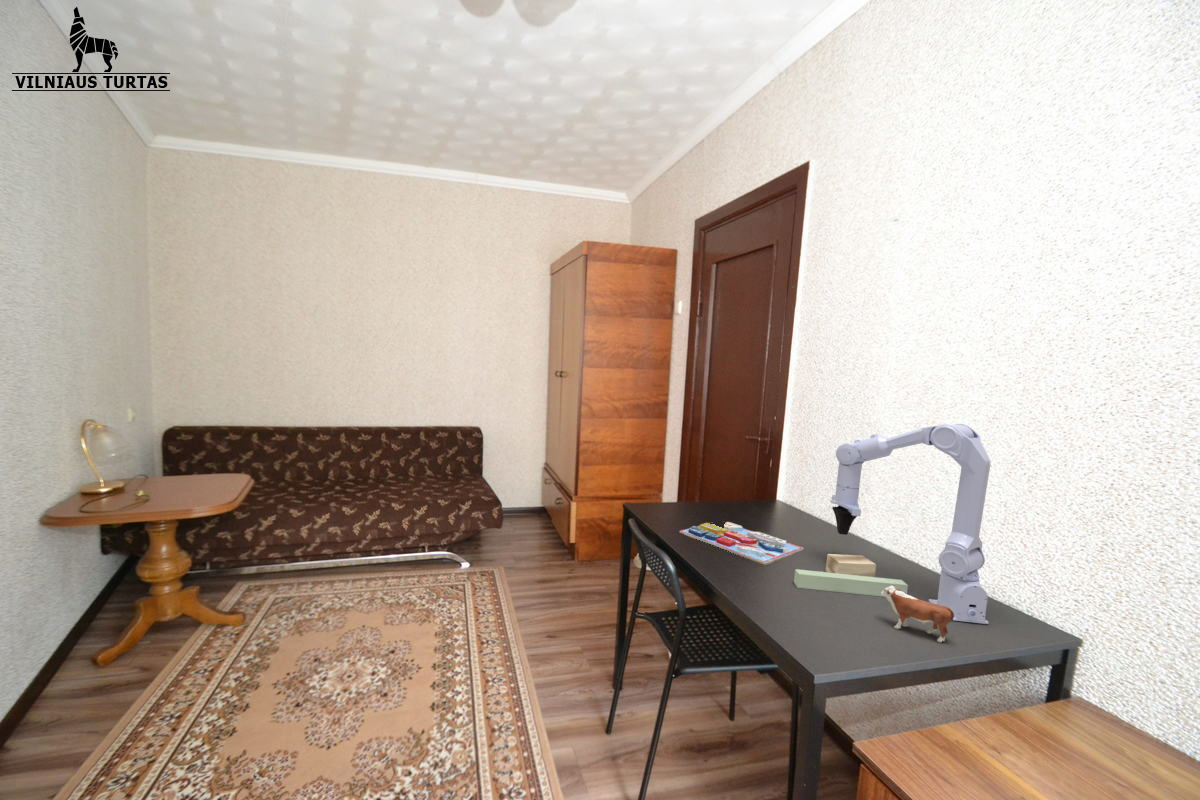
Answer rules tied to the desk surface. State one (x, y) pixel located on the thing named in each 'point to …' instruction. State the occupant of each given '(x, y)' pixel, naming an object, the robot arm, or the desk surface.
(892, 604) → the bull figurine
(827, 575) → the pale green block
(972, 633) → the desk surface
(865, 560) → the beech block
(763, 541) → the puzzle board
